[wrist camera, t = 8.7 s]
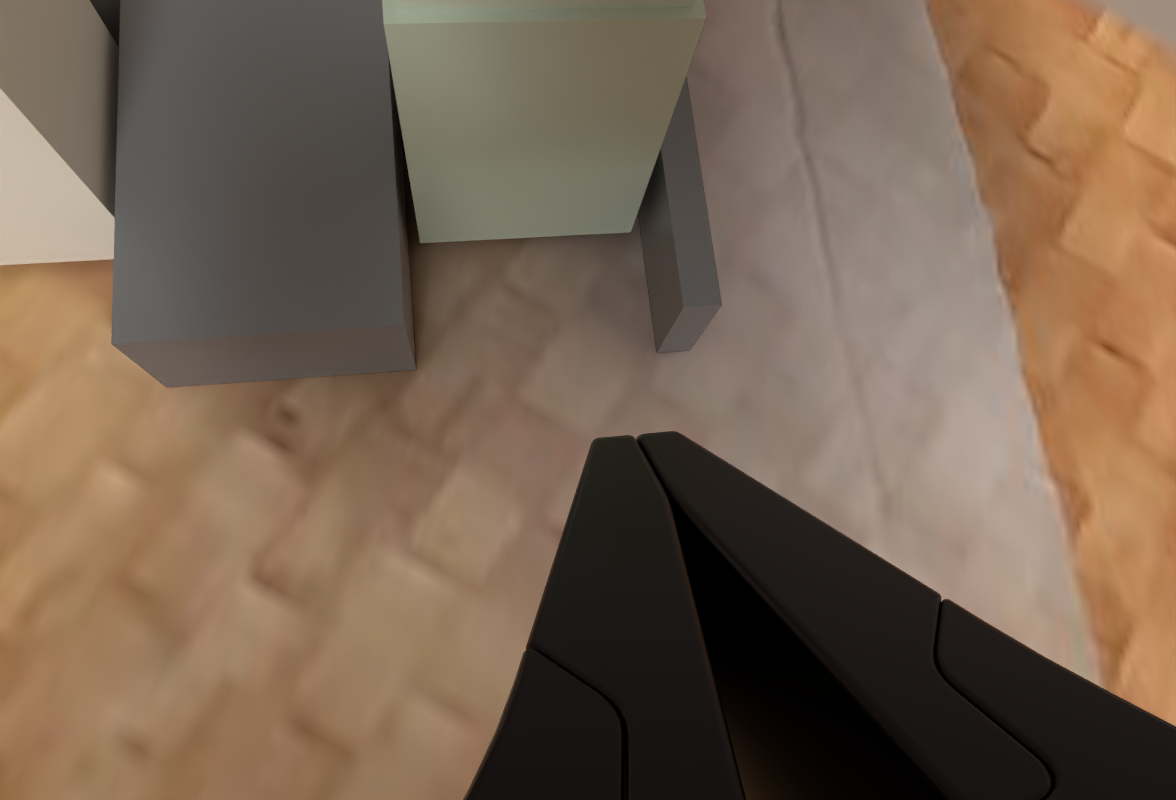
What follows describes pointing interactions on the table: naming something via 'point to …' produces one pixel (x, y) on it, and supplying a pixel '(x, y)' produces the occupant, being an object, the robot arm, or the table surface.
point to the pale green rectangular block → (535, 110)
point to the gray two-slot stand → (305, 197)
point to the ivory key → (57, 132)
